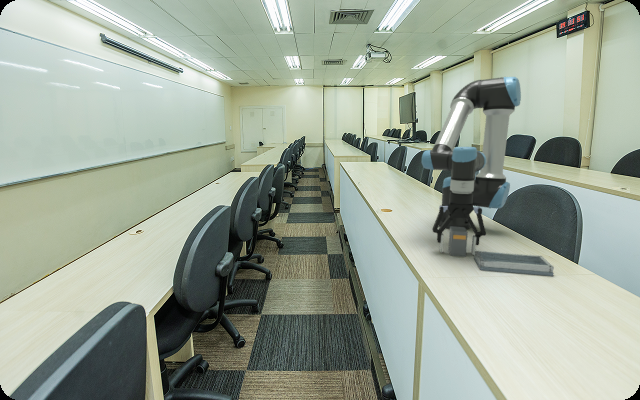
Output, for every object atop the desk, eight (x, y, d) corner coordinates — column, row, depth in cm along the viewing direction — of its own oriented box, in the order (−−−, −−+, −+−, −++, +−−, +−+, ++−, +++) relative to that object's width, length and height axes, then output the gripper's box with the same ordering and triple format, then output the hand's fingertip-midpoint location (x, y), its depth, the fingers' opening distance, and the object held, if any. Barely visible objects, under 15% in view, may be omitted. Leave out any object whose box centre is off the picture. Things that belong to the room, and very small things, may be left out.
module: (448, 249, 119) (449, 226, 117) (462, 250, 117) (464, 227, 116) (450, 255, 113) (452, 231, 111) (465, 256, 112) (467, 232, 110)
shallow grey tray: (473, 258, 110) (474, 250, 110) (539, 263, 105) (540, 255, 105) (480, 270, 101) (481, 261, 100) (553, 276, 96) (554, 267, 95)
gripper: (427, 192, 110) (424, 253, 114) (500, 194, 104) (494, 258, 109) (426, 189, 117) (423, 246, 122) (494, 190, 111) (488, 251, 116)
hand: (456, 252), depth 115 cm, fingers open, 10 cm apart
